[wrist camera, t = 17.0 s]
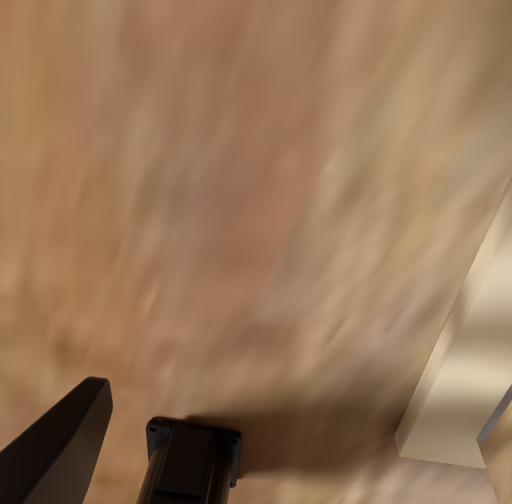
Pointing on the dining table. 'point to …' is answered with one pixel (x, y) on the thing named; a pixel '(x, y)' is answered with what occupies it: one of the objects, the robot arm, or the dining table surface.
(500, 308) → the board
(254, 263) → the dining table surface
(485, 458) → the block
